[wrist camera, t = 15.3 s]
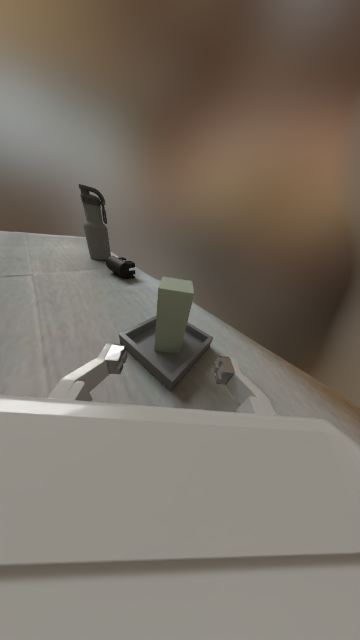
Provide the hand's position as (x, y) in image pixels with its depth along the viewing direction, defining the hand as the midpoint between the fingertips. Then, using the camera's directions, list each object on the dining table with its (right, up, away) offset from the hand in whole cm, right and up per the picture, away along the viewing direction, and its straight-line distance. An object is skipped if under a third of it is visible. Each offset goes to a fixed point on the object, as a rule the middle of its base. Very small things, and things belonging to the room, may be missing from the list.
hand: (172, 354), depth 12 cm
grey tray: (-2, -2, +16) cm, 17 cm away
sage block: (-2, -2, +16) cm, 16 cm away
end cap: (-25, +22, +45) cm, 56 cm away
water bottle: (-42, +37, +60) cm, 82 cm away
